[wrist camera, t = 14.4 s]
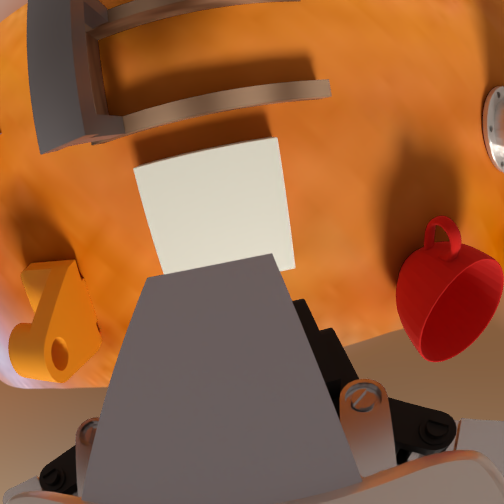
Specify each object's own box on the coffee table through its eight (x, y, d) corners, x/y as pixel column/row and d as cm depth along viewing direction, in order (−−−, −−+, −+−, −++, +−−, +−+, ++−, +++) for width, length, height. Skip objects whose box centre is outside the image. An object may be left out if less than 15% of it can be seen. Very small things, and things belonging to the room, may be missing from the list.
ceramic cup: (442, 176, 28) (504, 200, 19) (456, 284, 35) (499, 322, 26) (354, 223, 29) (406, 266, 20) (386, 329, 36) (421, 380, 27)
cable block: (272, 253, 11) (364, 488, 3) (285, 347, 13) (339, 529, 5) (147, 278, 11) (80, 505, 3) (183, 365, 13) (176, 547, 5)
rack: (296, -11, 19) (304, -24, 16) (319, 99, 24) (331, 96, 21) (87, 31, 18) (74, 23, 15) (104, 142, 23) (91, 145, 20)
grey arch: (115, 5, 15) (71, -41, 7) (134, 130, 20) (85, 135, 12) (83, 18, 15) (29, -17, 7) (100, 141, 20) (40, 154, 12)
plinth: (271, 136, 25) (277, 137, 23) (289, 256, 30) (295, 268, 28) (140, 164, 24) (133, 168, 22) (173, 280, 29) (170, 293, 27)
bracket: (29, 260, 27) (-28, 319, 16) (78, 256, 27) (23, 322, 16) (58, 335, 31) (22, 402, 20) (104, 336, 32) (74, 412, 21)
